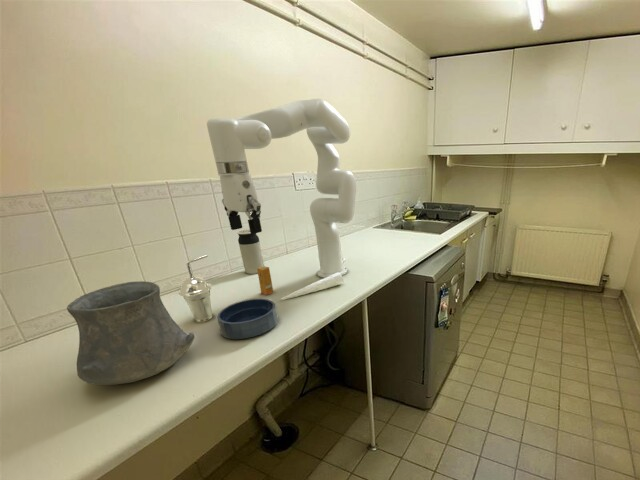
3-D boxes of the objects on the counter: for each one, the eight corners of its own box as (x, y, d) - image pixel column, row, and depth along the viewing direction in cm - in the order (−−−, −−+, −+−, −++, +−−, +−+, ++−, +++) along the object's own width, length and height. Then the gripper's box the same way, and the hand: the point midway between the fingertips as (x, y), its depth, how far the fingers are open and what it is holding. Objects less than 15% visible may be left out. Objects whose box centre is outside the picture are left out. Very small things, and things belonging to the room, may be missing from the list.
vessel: (184, 387, 69) (156, 307, 62) (60, 410, 63) (13, 325, 56) (212, 336, 88) (193, 270, 81) (119, 350, 83) (90, 281, 75)
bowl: (247, 311, 102) (244, 296, 100) (288, 316, 98) (286, 301, 96) (208, 337, 88) (203, 320, 86) (254, 344, 84) (250, 326, 82)
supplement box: (274, 292, 116) (269, 266, 112) (266, 295, 113) (261, 269, 110) (269, 290, 118) (264, 265, 114) (260, 293, 115) (255, 268, 111)
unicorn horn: (277, 297, 112) (275, 285, 110) (339, 281, 125) (338, 270, 123) (281, 302, 108) (279, 289, 106) (344, 285, 121) (343, 273, 119)
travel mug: (253, 275, 133) (245, 234, 126) (241, 272, 136) (231, 232, 129) (269, 269, 139) (261, 229, 133) (256, 266, 143) (248, 228, 136)
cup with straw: (194, 313, 101) (176, 255, 94) (224, 310, 103) (209, 252, 96) (183, 327, 93) (163, 264, 86) (216, 322, 95) (199, 261, 88)
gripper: (264, 168, 83) (276, 231, 89) (229, 168, 92) (241, 225, 98) (237, 170, 77) (252, 237, 83) (202, 169, 86) (217, 230, 92)
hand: (246, 230), depth 91 cm, fingers open, 9 cm apart
